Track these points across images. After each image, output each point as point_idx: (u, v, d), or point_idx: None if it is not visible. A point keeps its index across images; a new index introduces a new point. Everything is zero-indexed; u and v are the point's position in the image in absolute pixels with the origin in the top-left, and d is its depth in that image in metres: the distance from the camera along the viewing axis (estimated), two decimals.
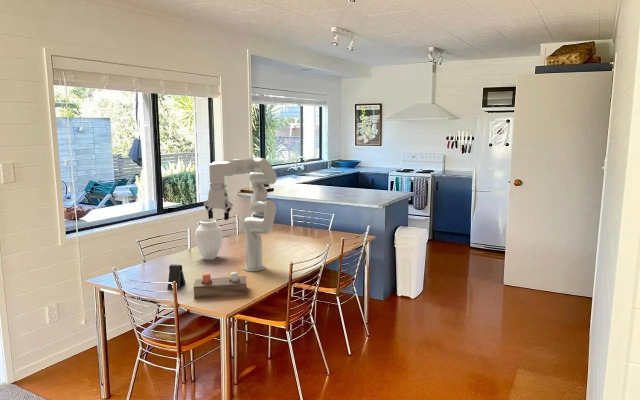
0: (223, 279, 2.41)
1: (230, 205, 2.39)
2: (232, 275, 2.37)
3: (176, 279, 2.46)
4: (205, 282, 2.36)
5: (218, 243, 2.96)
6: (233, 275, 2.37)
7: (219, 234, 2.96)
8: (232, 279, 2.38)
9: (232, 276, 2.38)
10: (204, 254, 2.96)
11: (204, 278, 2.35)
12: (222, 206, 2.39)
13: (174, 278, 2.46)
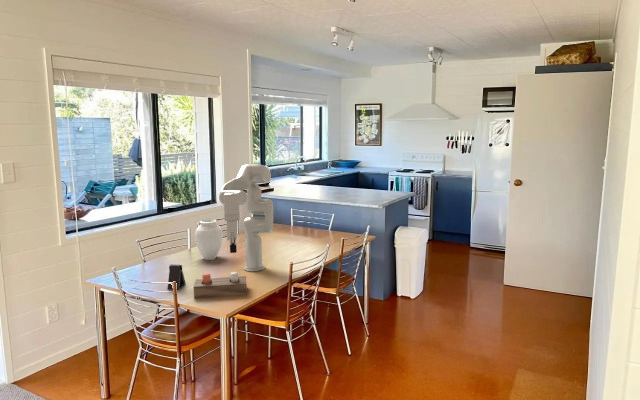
0: (223, 279, 2.41)
1: None
2: (232, 275, 2.37)
3: (176, 279, 2.46)
4: (205, 282, 2.36)
5: (218, 243, 2.96)
6: (233, 275, 2.37)
7: (219, 234, 2.96)
8: (232, 279, 2.38)
9: (232, 276, 2.38)
10: (204, 254, 2.96)
11: (204, 278, 2.35)
12: None
13: (174, 278, 2.46)
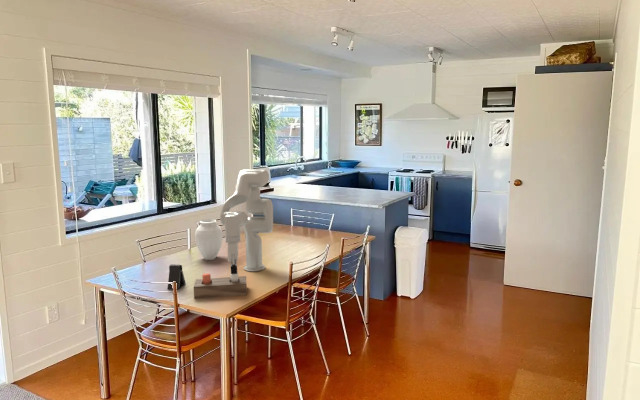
0: (223, 279, 2.41)
1: None
2: (232, 275, 2.37)
3: (176, 279, 2.46)
4: (205, 282, 2.36)
5: (218, 243, 2.96)
6: (233, 275, 2.37)
7: (219, 234, 2.96)
8: (232, 279, 2.38)
9: (232, 276, 2.38)
10: (204, 254, 2.96)
11: (204, 278, 2.35)
12: None
13: (174, 278, 2.46)
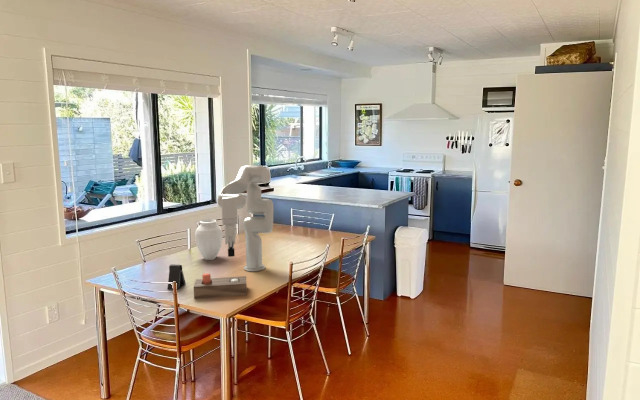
0: (223, 279, 2.41)
1: None
2: None
3: (176, 279, 2.46)
4: (205, 282, 2.36)
5: (218, 243, 2.96)
6: None
7: (219, 234, 2.96)
8: None
9: None
10: (204, 254, 2.96)
11: (204, 278, 2.35)
12: None
13: (174, 278, 2.46)
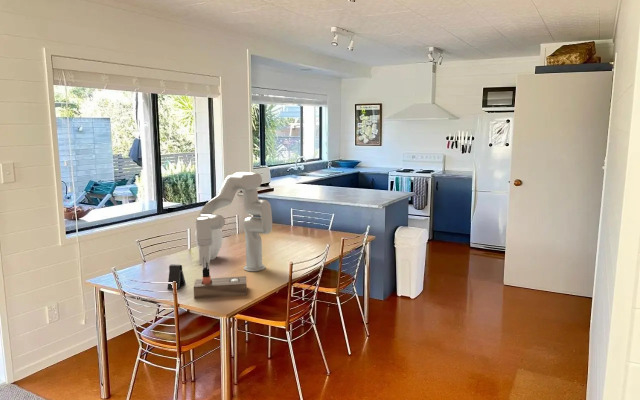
0: (223, 279, 2.41)
1: None
2: None
3: (176, 279, 2.46)
4: None
5: (218, 243, 2.96)
6: None
7: (219, 234, 2.96)
8: None
9: None
10: None
11: (204, 280, 2.35)
12: None
13: (174, 278, 2.46)
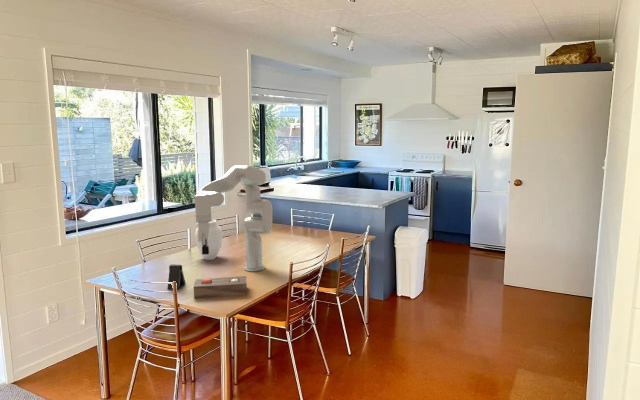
0: (223, 279, 2.41)
1: None
2: None
3: (176, 279, 2.46)
4: None
5: (218, 243, 2.96)
6: None
7: (219, 234, 2.96)
8: None
9: None
10: (204, 254, 2.96)
11: (204, 283, 2.36)
12: None
13: (174, 278, 2.46)
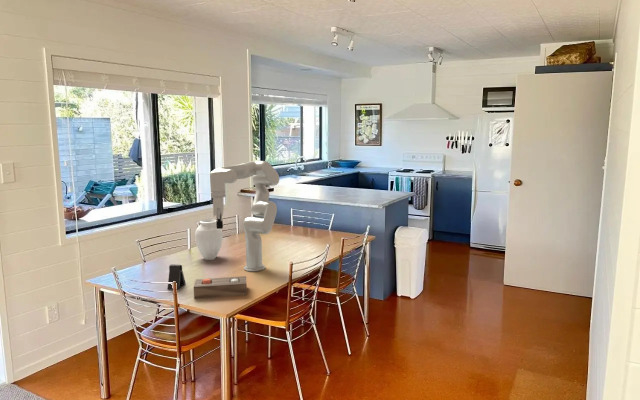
0: (223, 279, 2.41)
1: None
2: None
3: (176, 279, 2.46)
4: None
5: (218, 243, 2.96)
6: None
7: (219, 234, 2.96)
8: None
9: None
10: (204, 254, 2.96)
11: (204, 283, 2.36)
12: None
13: (174, 278, 2.46)
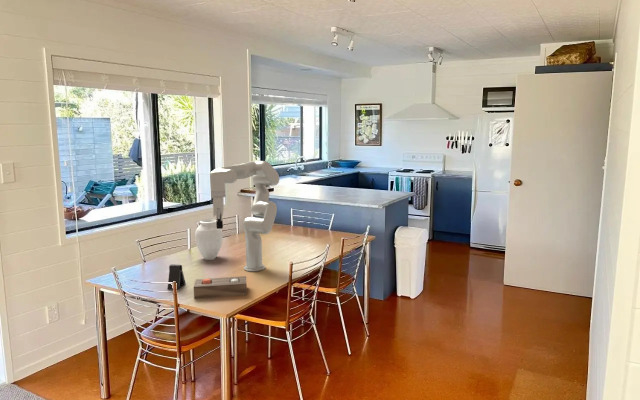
0: (223, 279, 2.41)
1: None
2: None
3: (176, 279, 2.46)
4: None
5: (218, 243, 2.96)
6: None
7: (219, 234, 2.96)
8: None
9: None
10: (204, 254, 2.96)
11: (204, 283, 2.36)
12: None
13: (174, 278, 2.46)
